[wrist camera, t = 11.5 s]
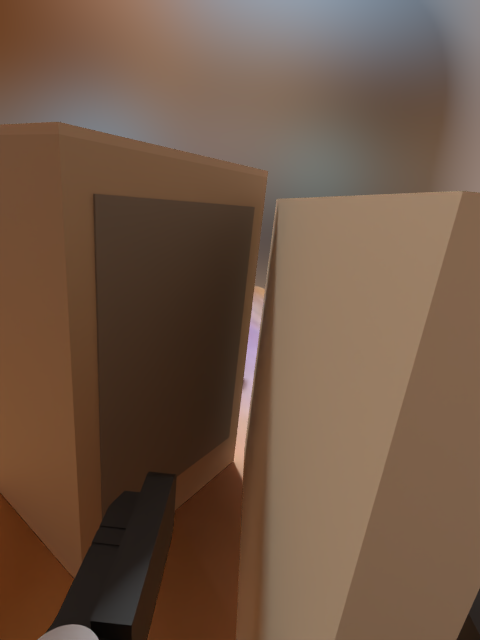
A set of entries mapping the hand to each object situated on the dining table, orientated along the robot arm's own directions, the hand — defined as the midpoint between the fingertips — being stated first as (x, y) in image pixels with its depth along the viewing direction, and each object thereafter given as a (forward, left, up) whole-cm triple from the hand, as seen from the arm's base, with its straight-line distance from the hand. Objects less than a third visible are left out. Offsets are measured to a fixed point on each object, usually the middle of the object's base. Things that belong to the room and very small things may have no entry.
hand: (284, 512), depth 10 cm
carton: (+1, +14, -9) cm, 16 cm away
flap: (+2, +3, -8) cm, 9 cm away
